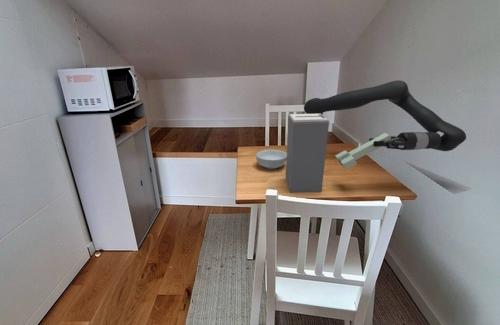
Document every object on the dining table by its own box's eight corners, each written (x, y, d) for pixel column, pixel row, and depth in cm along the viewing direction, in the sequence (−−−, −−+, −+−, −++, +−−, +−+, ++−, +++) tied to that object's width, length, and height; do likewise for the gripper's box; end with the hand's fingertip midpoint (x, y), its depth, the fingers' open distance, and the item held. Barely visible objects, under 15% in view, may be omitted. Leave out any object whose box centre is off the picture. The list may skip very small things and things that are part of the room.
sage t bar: (383, 136, 107) (381, 130, 106) (396, 143, 98) (393, 137, 97) (337, 160, 111) (335, 155, 110) (345, 169, 102) (343, 164, 101)
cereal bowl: (291, 163, 137) (291, 151, 135) (279, 174, 124) (279, 162, 121) (264, 158, 145) (264, 147, 143) (250, 168, 132) (250, 156, 130)
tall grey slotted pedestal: (313, 177, 120) (319, 112, 108) (321, 191, 107) (329, 119, 95) (285, 178, 120) (288, 113, 108) (290, 192, 107) (293, 120, 95)
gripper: (404, 128, 108) (365, 129, 108) (425, 137, 94) (381, 138, 95) (400, 144, 110) (362, 145, 111) (420, 155, 97) (378, 156, 98)
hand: (371, 142), depth 103 cm, fingers closed on sage t bar, 3 cm apart
